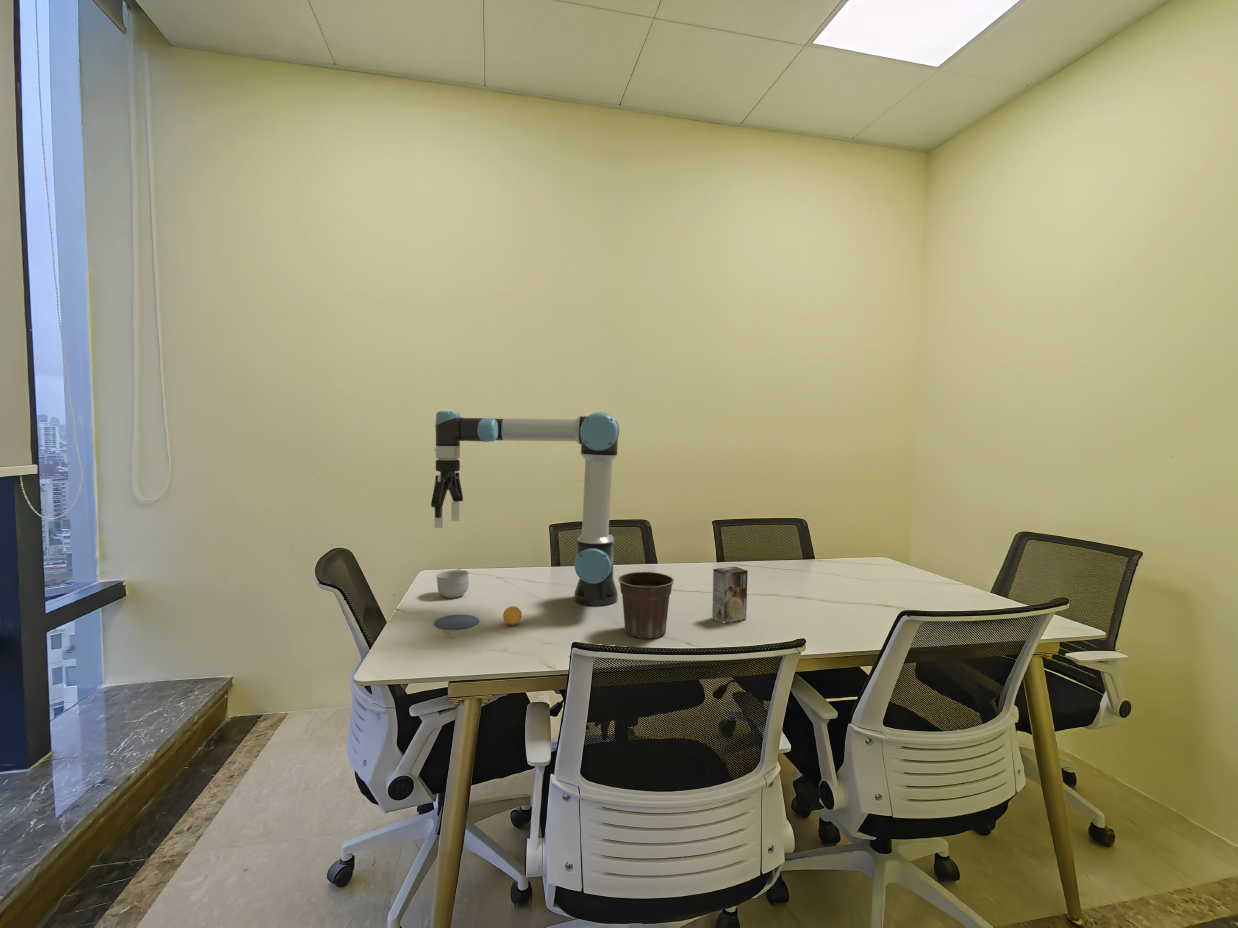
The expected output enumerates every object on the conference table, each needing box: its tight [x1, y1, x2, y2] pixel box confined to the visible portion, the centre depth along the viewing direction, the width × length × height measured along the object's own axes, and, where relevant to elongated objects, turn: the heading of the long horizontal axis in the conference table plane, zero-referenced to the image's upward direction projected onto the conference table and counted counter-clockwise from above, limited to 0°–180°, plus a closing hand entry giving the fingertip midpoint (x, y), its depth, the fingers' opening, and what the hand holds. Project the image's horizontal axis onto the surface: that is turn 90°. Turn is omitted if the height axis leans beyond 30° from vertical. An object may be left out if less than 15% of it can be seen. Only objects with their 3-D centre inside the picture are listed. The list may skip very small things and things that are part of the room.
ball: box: [502, 605, 523, 626], centre depth 174 cm, size 6×6×6 cm
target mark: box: [434, 613, 480, 631], centre depth 175 cm, size 13×13×1 cm
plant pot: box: [618, 571, 675, 640], centre depth 170 cm, size 16×16×16 cm
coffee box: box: [711, 566, 749, 623], centre depth 184 cm, size 9×6×16 cm
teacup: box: [436, 568, 470, 599], centre depth 203 cm, size 14×11×8 cm
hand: (447, 524), depth 188 cm, fingers open, 13 cm apart
